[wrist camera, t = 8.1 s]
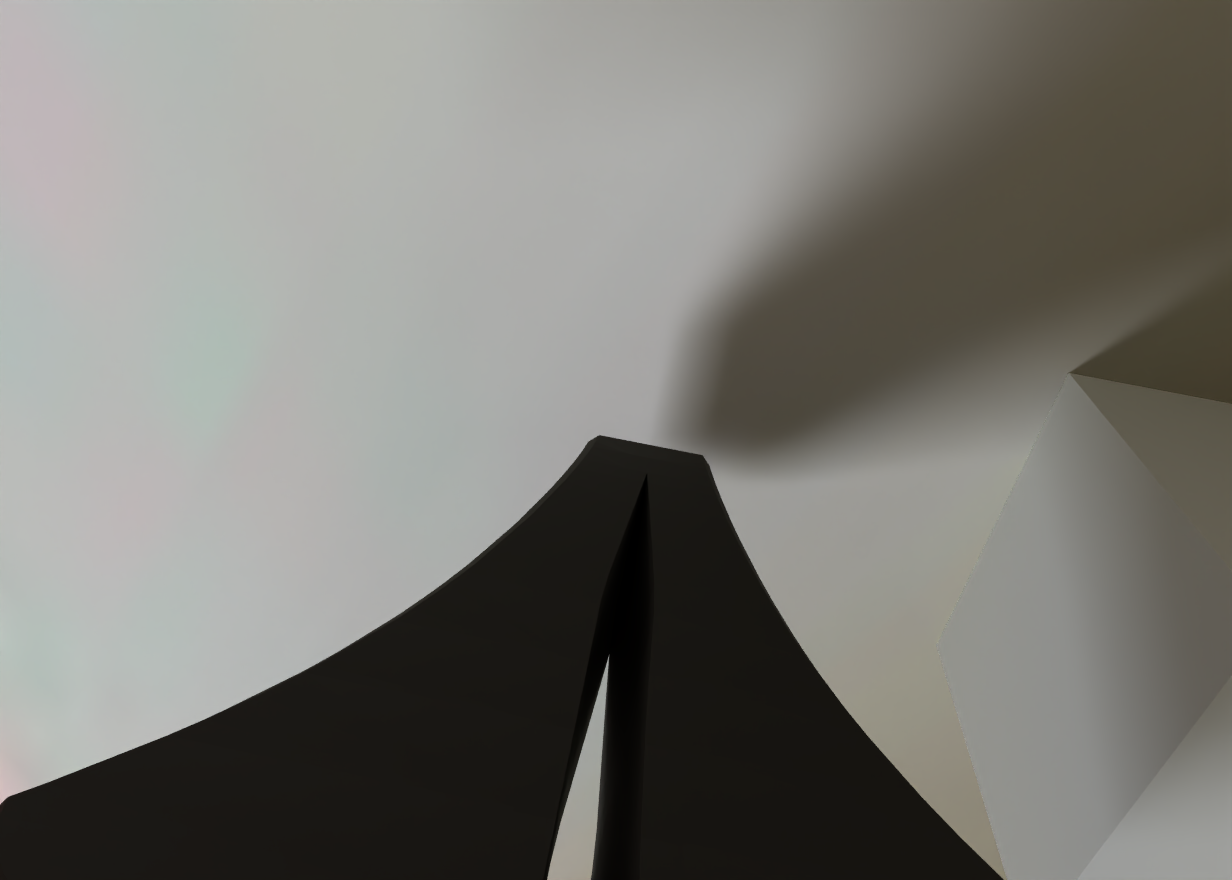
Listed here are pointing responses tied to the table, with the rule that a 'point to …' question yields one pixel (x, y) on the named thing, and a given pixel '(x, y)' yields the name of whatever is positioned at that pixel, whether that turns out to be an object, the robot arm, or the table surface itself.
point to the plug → (1106, 643)
